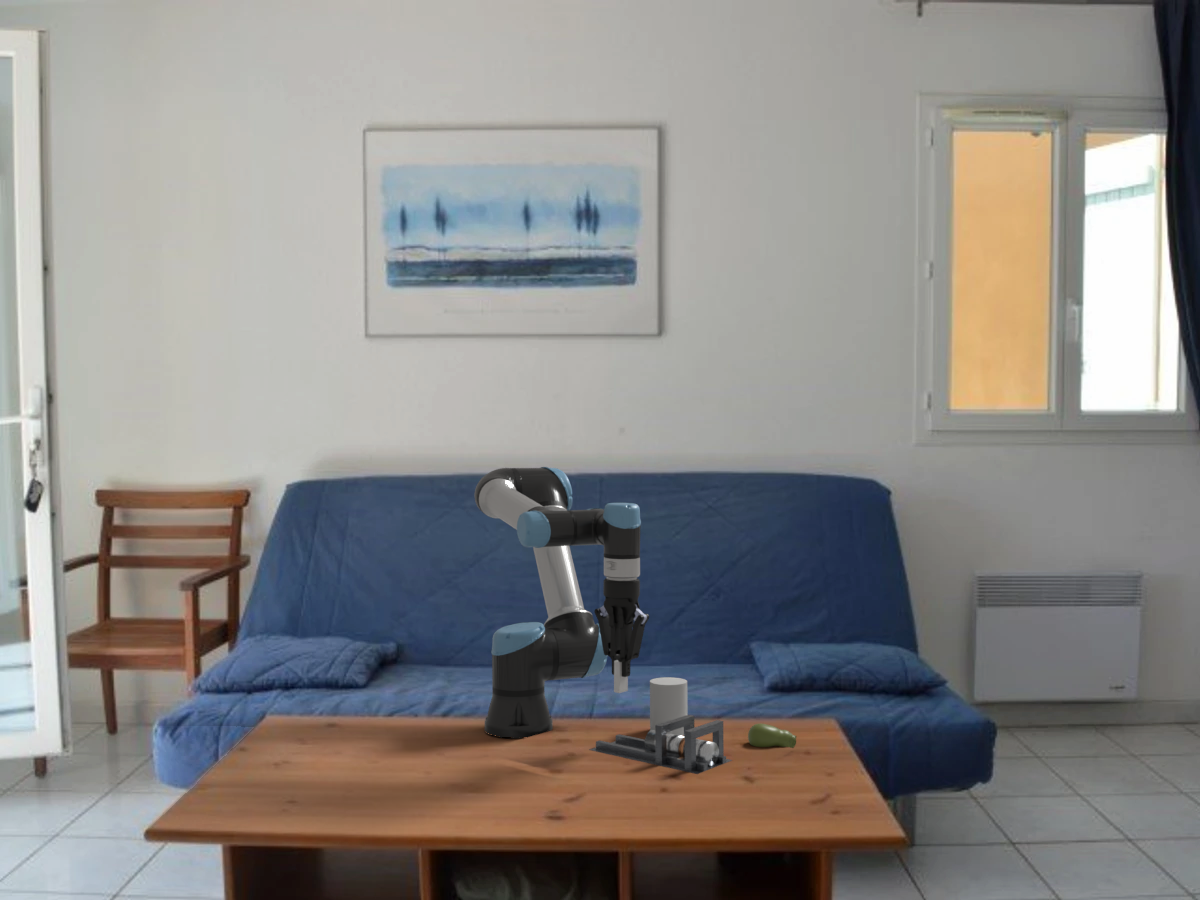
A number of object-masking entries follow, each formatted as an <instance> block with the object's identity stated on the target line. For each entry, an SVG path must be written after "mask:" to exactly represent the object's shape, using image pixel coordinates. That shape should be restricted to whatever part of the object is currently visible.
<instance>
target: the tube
mask: <svg viewBox="0 0 1200 900" xmlns="http://www.w3.org/2000/svg"><path fill="white" fill-rule="evenodd" d="M644 740H645V748H646V750H647V751H651V752H656V742H655V730H651V731H650V730H649V731H647V733H646V735H645V738H644ZM667 755H670V756H675V757H679V758H680V757H682V758H684V759H685V736H684V735H682V736H680V735H675V734H670V733H667ZM718 756H719V748H718V745H717V744H716V743H715V742H713V741H709V740H705V739H699V738H696V761H698V762H702V763H707V764H708V765H711V766H712V765H714V764H715V763H716V761H717V759H718Z"/></svg>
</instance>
